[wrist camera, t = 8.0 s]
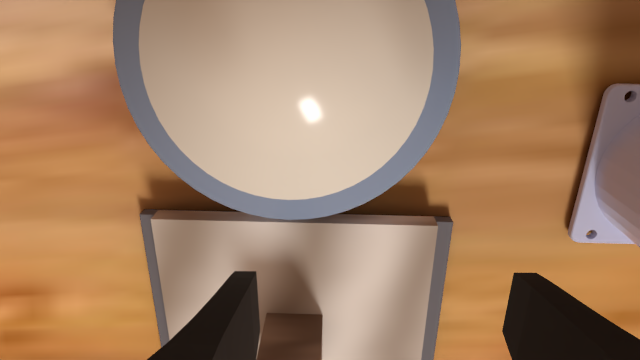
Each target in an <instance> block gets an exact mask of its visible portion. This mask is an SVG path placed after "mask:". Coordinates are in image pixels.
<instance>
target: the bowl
mask: <svg viewBox="0 0 640 360" xmlns="http://www.w3.org/2000/svg"><path fill="white" fill-rule="evenodd" d="M113 46H114V56H115V65H116V69H117V74H118V78H119V82H120V87H121V89H122V92H123V95H124V98H125V101H126V103H127V106H128V109H129V111H130V113H131V115H132V117H133V119H134V121H135V123H136V125H137V127H138V129H139V130H140V132H141V133H142V135H143V136H144V138H145V139H146V141H147V142H148V144H149V145H150V147H151V148H152V149H153V150H154V152H155V153H156V154H157V155H158V156H159V158H160V159H161V160H162V161H163V162H164V163H165V164H166V165H167V166H168V167H169V168H170V169H171V170H172V171H173V172H174V173H175V174H176V175H177V176H178V177H179V178H181V179H182V180H183V181H185V182H186V183H187V184H189V185H190V186H191V187H192V188H194V189H195V190H197V191H198V192H200V193H202V194H203V195H205V196H207V197H208V198H210V199H212V200H214V201H216V202H218V203H220V204H223V205H225V206H227V207H229V208H232V209H235V210H238V211H241V212H244V213H247V214H251V215H255V216H260V217H265V218H272V219H284V220H299V219H313V218H319V217H326V216H330V215H334V214H337V213H341V212H345V211H348V210H350V209H352V208H355V207H357V206H360V205H362V204H365V203H366V202H368V201H370V200H372V199H374V198H375V197H377V196H379V195H381V194H382V193H384V192H385V191H386V190H388V189H389V188H391V187H392V186H393V185H395V184H396V183H397V182H399V181H400V180H401V179H402V178H403V177H404V176H405V175H406V174H407V173H408V172H409V171H410V170H411V169H413V168H414V166H415V165H416V164H417V163H418V162H419V160H420V159H421V158H422V157H423V156H424V154H425V153H426V152H427V150H428V149H429V147H430V146H431V144H432V143H433V141H434V140H435V138H436V136H437V135H438V133H439V131H440V129H441V127H442V125H443V123H444V121H445V119H446V116H447V114H448V112H449V109H450V106H451V103H452V100H453V97H454V93H455V89H456V84H457V79H458V74H459V67H460V51H461V40H460V25H459V18H458V13H457V7H456V2H455V0H116V5H115V11H114V21H113Z"/></svg>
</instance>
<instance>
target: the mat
mask: <svg viewBox="0 0 640 360" xmlns="http://www.w3.org/2000/svg"><path fill="white" fill-rule="evenodd" d="M157 211H158V210H156V209H144V210H143V211H142V212H141V213H140V220H141V226H142V232H143V238H144V244H145V250H146V256H147V262H148V269H149V275H150V281H151V287H152V293H153V299H154V305H155V311H156V317H157V323H158V329H159V335H160V341H161V347H163V346H164V345H165V344H166V343H167V342H168V341H170V340H169V333H168V327H167V320H166V314H165V308H164V301H163V295H162V289H161V282H160V276H159V270H158V263H157V257H156V251H155V244H154V238H153V231H152V225H151V218H152V217H153V216H154V214H155V213H156V212H157ZM177 211H196V210H177ZM221 212H236V211H221ZM352 215H357V214H352ZM396 216H397V215H396ZM434 218H435V220H436V222H437V225H438V230H437V238H436V246H435V254H434V262H433V270H432V278H431V285H430V293H429V301H428V309H427V317H426V325H425V333H424V341H423V349H422V357H421V360H433V359H434V352H435V345H436V338H437V331H438V324H439V317H440V310H441V303H442V296H443V289H444V282H445V275H446V268H447V261H448V254H449V247H450V240H451V233H452V226H453V221H452V219H451V217H438V216H434Z"/></svg>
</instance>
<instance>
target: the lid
mask: <svg viewBox="0 0 640 360" xmlns="http://www.w3.org/2000/svg"><path fill="white" fill-rule="evenodd" d="M151 225H152V231H153V238H154V244H155V251H156V257H157V263H158V270H159V276H160V282H161V289H162V295H163V301H164V308H165V314H166V320H167V327H168V333H169V340H171V339H172V338H173V337H174V336H175V335H176V334H177V333H178V332H179V331H180V330H181V329H182V328H183V327H184V326H185V325H186V324H187V323H188V322H189V321H190V320H191V319H192V318H193V317H194V316H195V315H196V314H197V313H198V312H199V311H200V310H201V309H202V307H203V306H204V305H205V304H206V303H207V302H208V301H209V300H210V299H211V298H212V296H213V295H214V294H215V293H216V292H217V291H218V290H219V288H220V287H221V286H222V285H223V284H224V282H225V281H226V280H227V279H228V278H229V276H230V275H231V274H232V273H233V272H234V271H256V274H257V289H258V304H259V318H260V335H259V343H258V350H257V357H256V360H421V357H422V349H423V341H424V333H425V325H426V317H427V309H428V301H429V293H430V285H431V278H432V270H433V262H434V254H435V246H436V238H437V230H438V225H437V222H436V220H435V218H434V216H396V215H352V214H334V215H330V216H326V217H319V218H313V219H299V220H284V219H272V218H265V217H260V216H255V215H251V214H247V213H244V212H221V211H177V210H158V211H157V212H156V213H155V214H154V216H153V217H152V218H151Z"/></svg>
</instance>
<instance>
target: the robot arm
mask: <svg viewBox="0 0 640 360" xmlns="http://www.w3.org/2000/svg"><path fill="white" fill-rule="evenodd" d="M629 91H631V96H630V98H629V99H627V100H624V96H625V95H626V93H627V92H629ZM590 230H593V231H592V233H591V234H589V235H586V234H587V232H588V231H590ZM568 235H569V237H570V238H571V239H572V240H573V241H575V242H582V243H620V244H636V245H637V246H639V247H640V84H613V85H611V86H609V87H608V88H607V89H606V90H605V92H604V94H603V98H602V102H601V106H600V109H599V113H598V117H597V121H596V125H595V129H594V133H593V136H592V140H591V144H590V148H589V152H588V156H587V160H586V163H585V167H584V171H583V175H582V179H581V183H580V187H579V190H578V194H577V198H576V202H575V206H574V210H573V214H572V218H571V221H570V225H569V229H568ZM502 332H503V335H504V337H505V340H506V343H507V346H508V349H509V352H510V355H511V357H512V360H640V339H638V338H636V337H635V336H633V335H631V334H630V333H628V332H626V331H625V330H623V329H621V328H620V327H618V326H617V325H615V324H613V323H612V322H610V321H609V320H607V319H606V318H604V317H603V316H601V315H600V314H598V313H597V312H595V311H593V310H592V309H590V308H589V307H587V306H586V305H584V304H583V303H582V302H580V301H579V300H577V299H576V298H574V297H573V296H571V295H570V294H568V293H567V292H565V291H564V290H562V289H561V288H559V287H558V286H556V285H555V284H553V283H552V282H550V281H549V280H547V279H545V278H544V277H542V276H540V275H539V274H537V273H514V275H513V280H512V285H511V290H510V295H509V300H508V305H507V310H506V315H505V320H504V325H503V330H502ZM259 335H260V318H259V304H258V289H257V274H256V271H234V272H233V273H232V274H231V275H230V276H229V278H228V279H227V280H226V281H225V282H224V284H223V285H222V286H221V287H220V288H219V290H218V291H217V292H216V293H215V294H214V295H213V296H212V298H211V299H210V300H209V301H208V302H207V303H206V304H205V305H204V306H203V307H202V309H201V310H200V311H199V312H198V313H197V314H196V315H195V316H194V317H193V318H192V319H191V320H190V321H189V322H188V323H187V324H186V325H185V326H184V327H183V328H182V329H181V330H180V331H179V332H178V333H177V334H176V335H175V336H174V337H173V338H172V339H171V340H170V341H168V342H167V343H166V344H165V345H164V346H163V347H162V348H161V349H159V350H158V351H157V352H156V353H155V354H153V355H152V356H151V357H150V358H148V359H147V360H256V357H257V350H258V343H259Z"/></svg>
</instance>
